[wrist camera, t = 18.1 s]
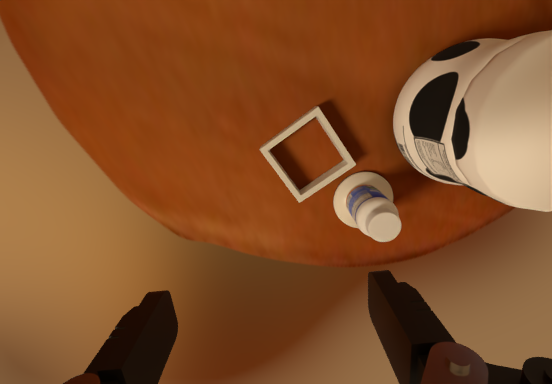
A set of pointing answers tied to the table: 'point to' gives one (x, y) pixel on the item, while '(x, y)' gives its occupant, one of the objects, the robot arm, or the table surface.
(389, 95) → the table surface
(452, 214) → the table surface
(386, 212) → the pill bottle
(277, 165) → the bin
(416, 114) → the milk container
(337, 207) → the coaster
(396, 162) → the table surface
